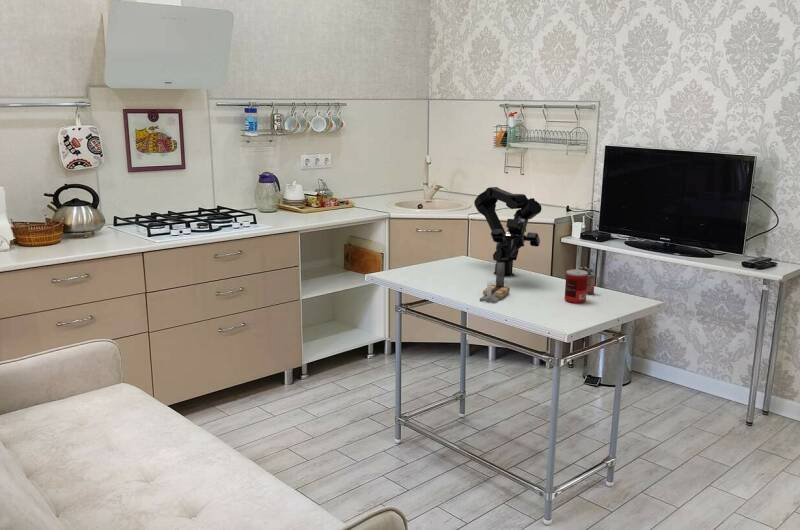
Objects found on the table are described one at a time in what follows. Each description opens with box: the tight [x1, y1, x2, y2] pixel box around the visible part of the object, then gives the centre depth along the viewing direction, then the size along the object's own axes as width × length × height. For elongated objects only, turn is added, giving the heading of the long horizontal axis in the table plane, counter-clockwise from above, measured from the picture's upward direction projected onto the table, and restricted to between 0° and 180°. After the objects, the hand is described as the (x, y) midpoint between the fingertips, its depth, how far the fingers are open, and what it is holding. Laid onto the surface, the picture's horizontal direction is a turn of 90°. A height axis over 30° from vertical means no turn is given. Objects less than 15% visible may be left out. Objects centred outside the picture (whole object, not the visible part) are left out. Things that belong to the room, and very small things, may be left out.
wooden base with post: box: [482, 262, 511, 297], centre depth 264 cm, size 10×7×11 cm
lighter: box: [578, 266, 597, 296], centre depth 270 cm, size 8×3×10 cm, turn 47°
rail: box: [479, 281, 510, 304], centre depth 263 cm, size 16×6×7 cm, turn 153°
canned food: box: [564, 269, 589, 305], centre depth 259 cm, size 8×8×11 cm
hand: (509, 255), depth 274 cm, fingers closed
